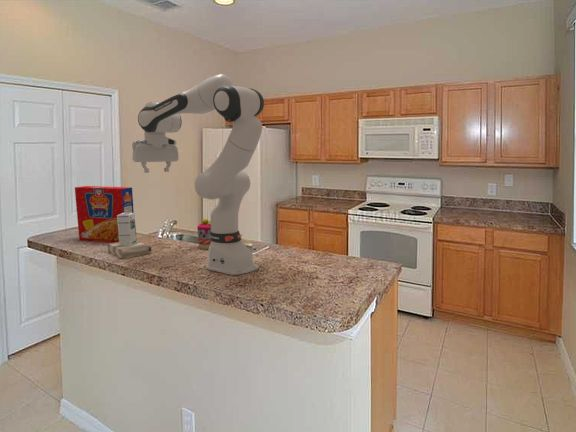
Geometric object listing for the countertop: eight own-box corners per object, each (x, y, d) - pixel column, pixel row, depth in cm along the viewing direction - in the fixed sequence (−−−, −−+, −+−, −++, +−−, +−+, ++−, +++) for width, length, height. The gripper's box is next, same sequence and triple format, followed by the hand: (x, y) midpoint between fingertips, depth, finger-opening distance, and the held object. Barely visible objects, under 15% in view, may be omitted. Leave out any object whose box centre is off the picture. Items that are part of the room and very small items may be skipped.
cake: (200, 250, 182) (199, 219, 180) (195, 245, 192) (194, 215, 189) (222, 248, 187) (221, 217, 184) (216, 243, 196) (215, 214, 194)
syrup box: (131, 246, 173) (129, 214, 171) (118, 246, 174) (116, 214, 171) (137, 243, 179) (135, 212, 177) (124, 243, 179) (122, 212, 177)
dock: (151, 253, 177) (150, 244, 176) (122, 259, 167) (122, 250, 167) (136, 247, 188) (135, 239, 187) (108, 252, 178) (107, 243, 178)
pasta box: (79, 240, 201) (74, 187, 196) (90, 237, 209) (86, 185, 204) (125, 244, 194) (121, 188, 189) (135, 240, 202) (132, 187, 197)
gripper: (135, 140, 160) (137, 173, 162) (179, 141, 174) (180, 171, 177) (128, 140, 164) (130, 172, 167) (172, 141, 179) (173, 171, 181)
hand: (156, 172), depth 172 cm, fingers open, 8 cm apart
